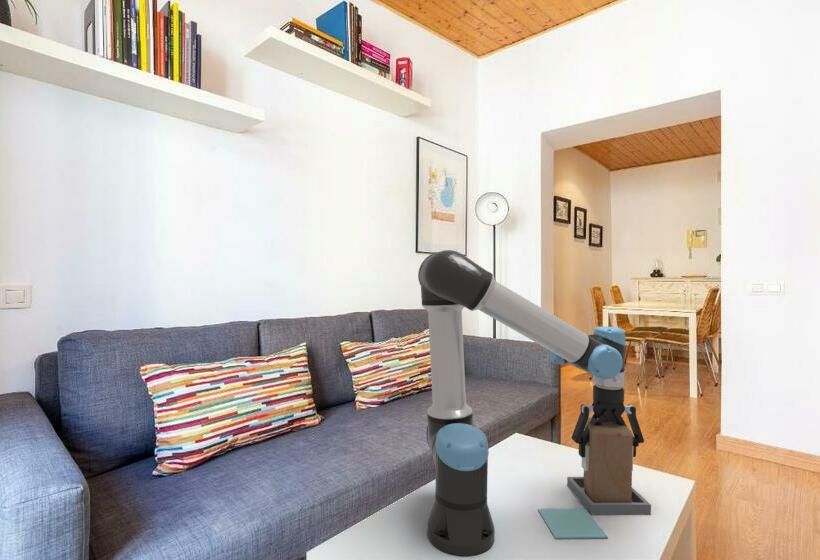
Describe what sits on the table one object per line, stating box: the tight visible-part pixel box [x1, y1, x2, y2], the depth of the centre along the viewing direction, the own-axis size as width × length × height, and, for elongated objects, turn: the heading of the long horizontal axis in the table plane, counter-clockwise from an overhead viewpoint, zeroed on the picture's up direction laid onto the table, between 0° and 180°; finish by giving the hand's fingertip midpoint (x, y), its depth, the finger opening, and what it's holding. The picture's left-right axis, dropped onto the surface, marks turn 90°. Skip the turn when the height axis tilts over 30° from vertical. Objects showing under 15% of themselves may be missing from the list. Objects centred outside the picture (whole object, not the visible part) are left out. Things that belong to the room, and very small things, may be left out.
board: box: [537, 507, 609, 540], centre depth 105 cm, size 12×12×1 cm
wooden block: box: [583, 417, 634, 503], centre depth 116 cm, size 10×10×20 cm
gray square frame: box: [566, 476, 652, 516], centre depth 116 cm, size 15×15×2 cm
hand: (606, 468), depth 116 cm, fingers closed on wooden block, 11 cm apart
